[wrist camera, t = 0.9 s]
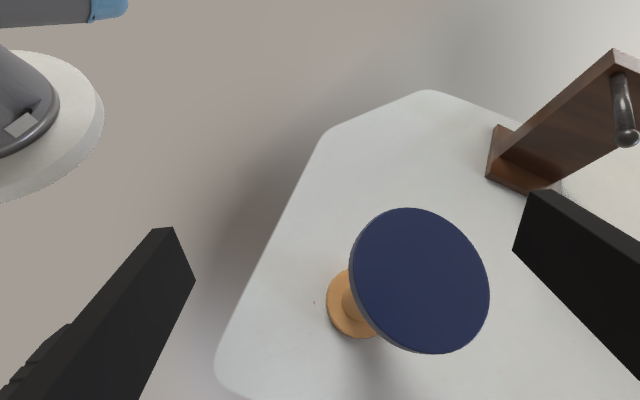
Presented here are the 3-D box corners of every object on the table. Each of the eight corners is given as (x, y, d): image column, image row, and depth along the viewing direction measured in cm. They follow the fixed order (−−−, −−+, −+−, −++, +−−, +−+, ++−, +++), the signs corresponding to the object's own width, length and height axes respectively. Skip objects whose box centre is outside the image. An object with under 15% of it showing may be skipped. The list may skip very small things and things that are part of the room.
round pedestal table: (299, 289, 29) (323, 249, 17) (363, 246, 33) (422, 186, 20) (350, 370, 27) (423, 393, 14) (414, 314, 30) (517, 293, 18)
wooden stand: (554, 247, 37) (744, 183, 23) (478, 210, 38) (613, 124, 23) (556, 157, 46) (696, 66, 31) (493, 127, 46) (601, 25, 31)
